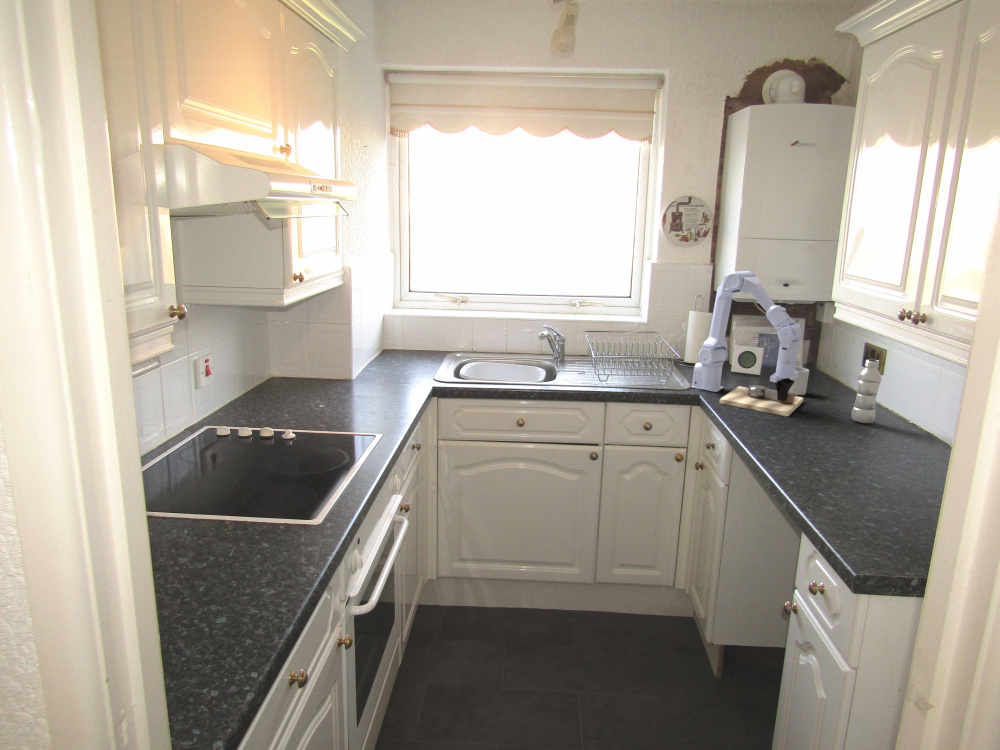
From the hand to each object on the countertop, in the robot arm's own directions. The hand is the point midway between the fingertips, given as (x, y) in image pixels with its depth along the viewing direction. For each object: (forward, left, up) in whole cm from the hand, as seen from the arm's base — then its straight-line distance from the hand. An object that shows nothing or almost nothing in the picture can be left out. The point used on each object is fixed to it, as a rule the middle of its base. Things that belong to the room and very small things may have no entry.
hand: (781, 400), depth 228 cm
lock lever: (-4, +2, -1) cm, 5 cm away
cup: (-2, +23, -3) cm, 23 cm away
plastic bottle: (+24, +1, -3) cm, 25 cm away
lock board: (-7, +2, -3) cm, 7 cm away
